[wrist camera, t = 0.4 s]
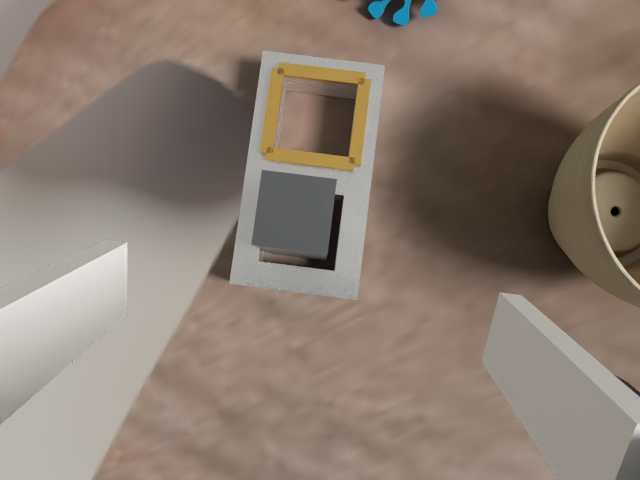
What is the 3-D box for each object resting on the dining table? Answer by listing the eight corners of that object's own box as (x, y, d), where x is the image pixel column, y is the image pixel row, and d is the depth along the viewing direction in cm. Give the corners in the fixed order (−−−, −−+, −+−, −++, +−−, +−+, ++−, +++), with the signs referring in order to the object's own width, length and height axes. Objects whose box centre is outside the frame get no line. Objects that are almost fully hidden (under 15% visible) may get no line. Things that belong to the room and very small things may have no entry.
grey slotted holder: (354, 298, 34) (357, 300, 31) (235, 282, 34) (227, 283, 31) (380, 80, 35) (385, 62, 32) (266, 66, 35) (262, 47, 33)
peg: (325, 260, 34) (327, 254, 23) (273, 253, 34) (251, 244, 23) (331, 209, 34) (336, 179, 24) (280, 202, 35) (261, 169, 24)
